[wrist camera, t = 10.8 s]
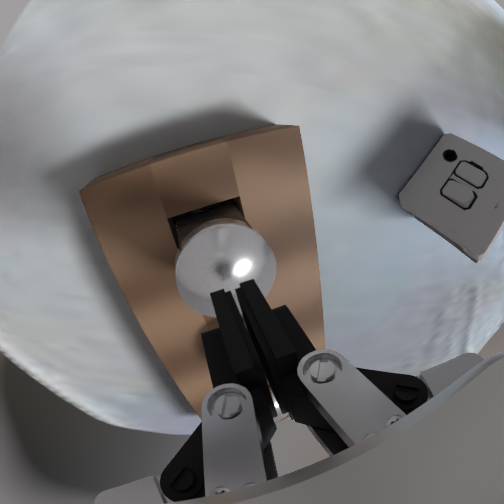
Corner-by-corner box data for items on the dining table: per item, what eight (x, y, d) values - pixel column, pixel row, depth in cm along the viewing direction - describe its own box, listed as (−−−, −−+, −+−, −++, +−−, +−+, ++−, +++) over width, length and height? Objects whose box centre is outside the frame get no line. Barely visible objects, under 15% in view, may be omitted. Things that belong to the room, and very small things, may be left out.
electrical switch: (443, 129, 21) (525, 159, 14) (456, 166, 24) (527, 200, 16) (391, 197, 23) (477, 247, 15) (409, 230, 25) (481, 279, 18)
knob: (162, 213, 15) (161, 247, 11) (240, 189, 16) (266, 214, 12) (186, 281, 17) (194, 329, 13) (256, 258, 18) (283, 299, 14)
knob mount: (94, 178, 16) (79, 191, 13) (276, 124, 18) (299, 126, 14) (211, 415, 28) (217, 440, 25) (313, 379, 30) (326, 401, 27)
